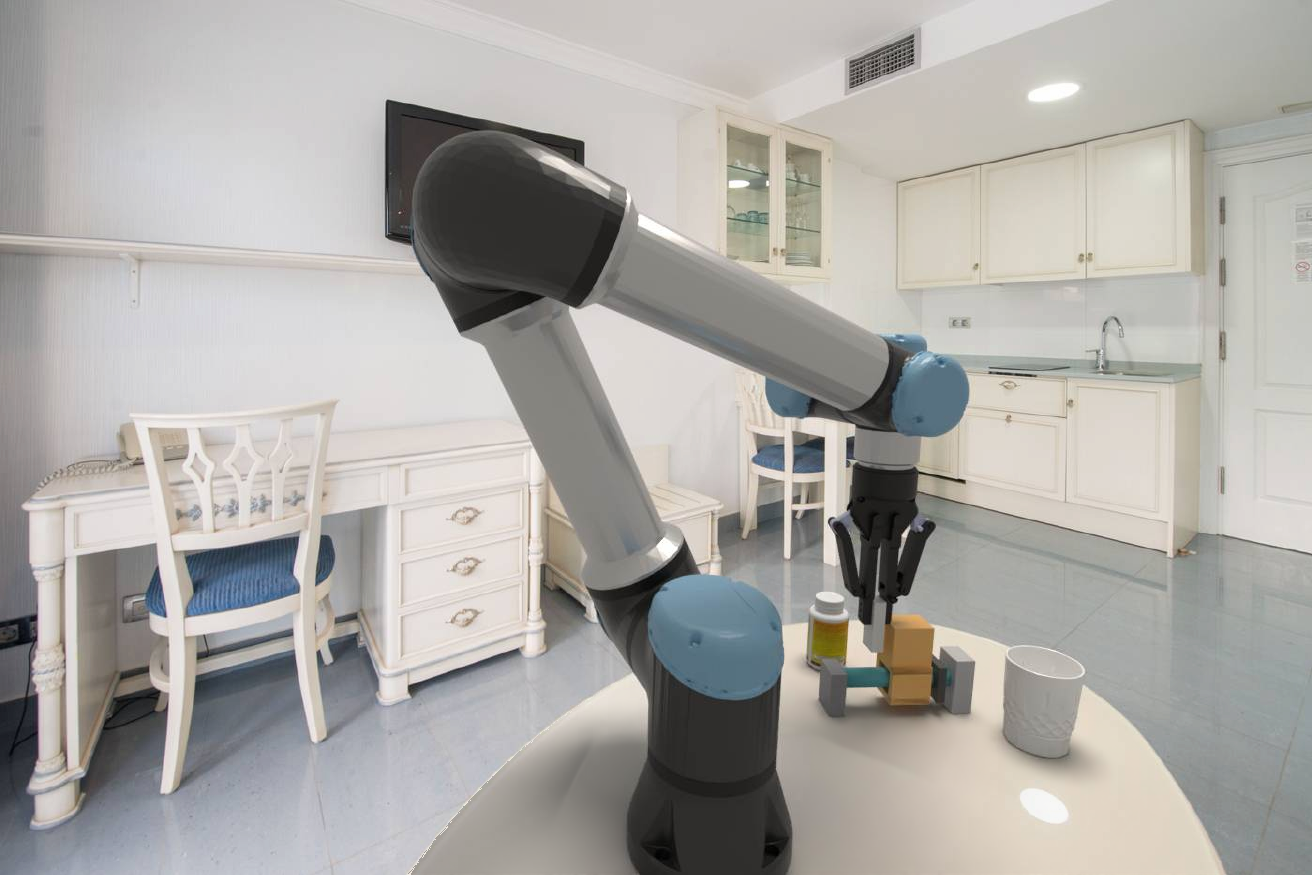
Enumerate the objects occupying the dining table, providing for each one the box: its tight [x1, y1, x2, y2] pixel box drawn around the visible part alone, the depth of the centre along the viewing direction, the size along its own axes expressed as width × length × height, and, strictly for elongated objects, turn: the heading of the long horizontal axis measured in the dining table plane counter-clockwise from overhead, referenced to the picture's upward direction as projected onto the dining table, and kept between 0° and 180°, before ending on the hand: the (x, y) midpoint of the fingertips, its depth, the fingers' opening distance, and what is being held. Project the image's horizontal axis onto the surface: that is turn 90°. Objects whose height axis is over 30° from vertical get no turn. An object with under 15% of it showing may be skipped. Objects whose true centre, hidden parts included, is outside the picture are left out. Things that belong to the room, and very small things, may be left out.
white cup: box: [1002, 644, 1086, 759], centre depth 75 cm, size 8×8×10 cm
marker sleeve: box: [875, 614, 936, 706], centre depth 81 cm, size 5×5×10 cm
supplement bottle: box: [805, 591, 850, 671], centre depth 92 cm, size 6×6×10 cm
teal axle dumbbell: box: [818, 645, 976, 718], centre depth 81 cm, size 18×5×7 cm, turn 94°
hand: (872, 647), depth 81 cm, fingers closed
